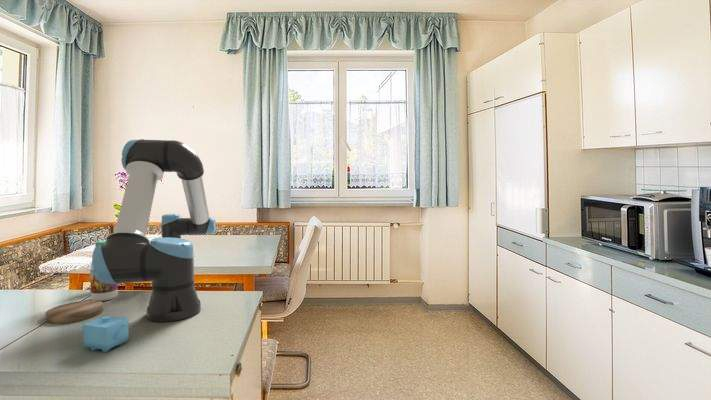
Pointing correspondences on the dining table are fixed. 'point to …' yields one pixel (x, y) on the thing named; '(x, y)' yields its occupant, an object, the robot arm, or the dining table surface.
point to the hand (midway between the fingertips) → (110, 265)
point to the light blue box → (105, 333)
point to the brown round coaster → (74, 311)
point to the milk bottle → (101, 286)
